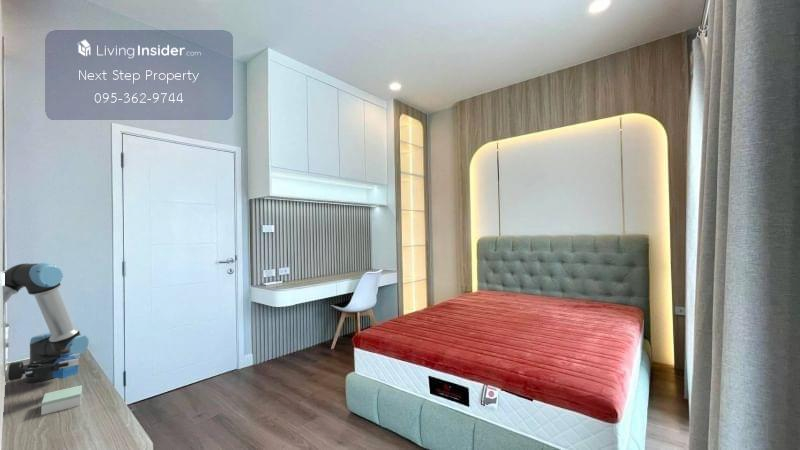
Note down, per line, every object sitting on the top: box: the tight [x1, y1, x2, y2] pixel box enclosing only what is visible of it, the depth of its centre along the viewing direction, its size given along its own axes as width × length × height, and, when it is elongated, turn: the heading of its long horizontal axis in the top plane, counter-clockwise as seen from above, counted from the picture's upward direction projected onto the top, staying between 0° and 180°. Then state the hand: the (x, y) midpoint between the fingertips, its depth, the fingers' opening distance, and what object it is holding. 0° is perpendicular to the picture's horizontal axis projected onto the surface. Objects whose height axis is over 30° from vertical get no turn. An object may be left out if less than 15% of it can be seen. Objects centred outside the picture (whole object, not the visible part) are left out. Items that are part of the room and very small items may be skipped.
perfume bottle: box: [52, 349, 79, 379], centre depth 162 cm, size 6×6×12 cm
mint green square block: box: [40, 384, 83, 416], centre depth 150 cm, size 12×12×5 cm
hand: (78, 358), depth 165 cm, fingers closed on perfume bottle, 9 cm apart
